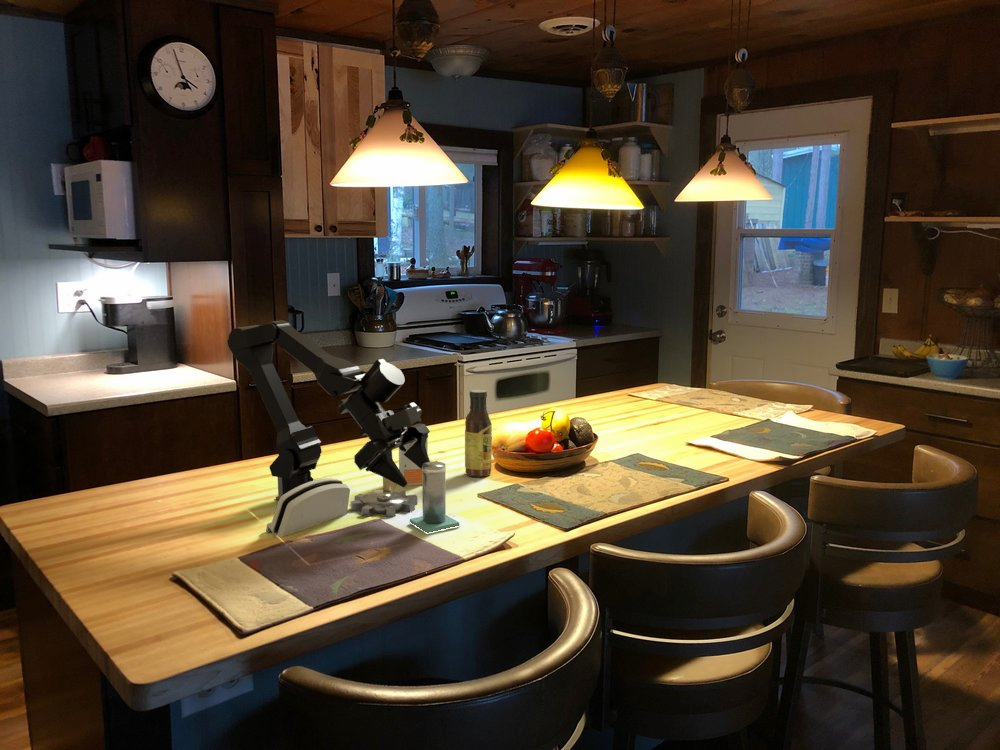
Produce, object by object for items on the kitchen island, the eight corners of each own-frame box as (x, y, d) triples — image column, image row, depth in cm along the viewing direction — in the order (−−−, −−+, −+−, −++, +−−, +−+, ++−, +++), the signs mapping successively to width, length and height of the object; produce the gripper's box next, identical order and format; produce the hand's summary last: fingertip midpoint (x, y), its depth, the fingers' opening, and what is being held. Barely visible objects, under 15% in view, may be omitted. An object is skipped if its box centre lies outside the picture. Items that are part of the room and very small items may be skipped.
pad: (427, 535, 158) (426, 528, 157) (409, 524, 163) (409, 518, 163) (459, 528, 161) (459, 521, 161) (441, 518, 167) (441, 511, 167)
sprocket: (410, 517, 167) (410, 485, 166) (344, 516, 168) (343, 484, 167) (422, 493, 182) (422, 464, 181) (362, 492, 183) (361, 463, 182)
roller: (424, 524, 159) (423, 468, 157) (420, 516, 164) (420, 462, 162) (447, 523, 160) (447, 467, 158) (443, 515, 165) (443, 460, 163)
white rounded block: (330, 509, 172) (340, 467, 169) (346, 521, 170) (356, 479, 167) (263, 532, 159) (273, 487, 156) (279, 545, 157) (289, 500, 153)
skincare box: (401, 486, 188) (400, 434, 186) (398, 481, 192) (397, 430, 190) (428, 484, 190) (427, 432, 188) (425, 479, 194) (424, 428, 192)
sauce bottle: (488, 478, 194) (488, 394, 191) (462, 477, 195) (461, 393, 192) (494, 471, 200) (494, 388, 197) (468, 469, 202) (468, 388, 198)
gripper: (366, 399, 154) (417, 466, 151) (421, 383, 170) (468, 444, 167) (332, 436, 159) (381, 502, 156) (389, 417, 175) (434, 476, 172)
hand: (418, 479), depth 162 cm, fingers open, 9 cm apart
